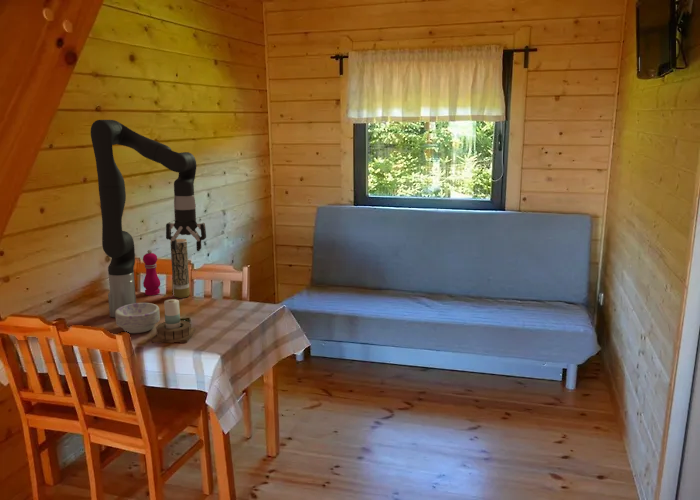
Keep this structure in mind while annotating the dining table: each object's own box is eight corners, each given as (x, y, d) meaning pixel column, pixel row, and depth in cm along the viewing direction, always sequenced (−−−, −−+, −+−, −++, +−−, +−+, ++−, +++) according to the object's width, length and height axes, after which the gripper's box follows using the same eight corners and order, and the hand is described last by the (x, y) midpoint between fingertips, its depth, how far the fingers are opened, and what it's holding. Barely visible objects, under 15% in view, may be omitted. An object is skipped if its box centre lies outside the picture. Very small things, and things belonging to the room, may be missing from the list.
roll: (164, 336, 204) (162, 303, 201) (168, 331, 209) (166, 299, 206) (178, 336, 204) (176, 303, 201) (182, 331, 209) (180, 299, 206)
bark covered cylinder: (185, 299, 250) (182, 242, 244) (170, 297, 251) (167, 241, 246) (192, 294, 256) (189, 239, 251) (178, 293, 258) (175, 238, 252)
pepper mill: (140, 294, 255) (137, 250, 251) (151, 290, 262) (148, 247, 257) (153, 296, 253) (150, 252, 248) (164, 292, 259) (161, 248, 255)
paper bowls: (136, 339, 203) (135, 318, 202) (107, 331, 211) (105, 311, 209) (169, 326, 216) (168, 306, 215) (140, 319, 224) (139, 300, 222)
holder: (152, 342, 201) (151, 331, 200) (162, 330, 212) (161, 320, 211) (186, 342, 201) (186, 331, 200) (195, 330, 213) (194, 320, 212)
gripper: (162, 208, 208) (164, 252, 212) (202, 209, 209) (203, 253, 212) (168, 205, 216) (170, 248, 219) (206, 206, 216) (208, 248, 220)
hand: (186, 250), depth 216 cm, fingers open, 8 cm apart
